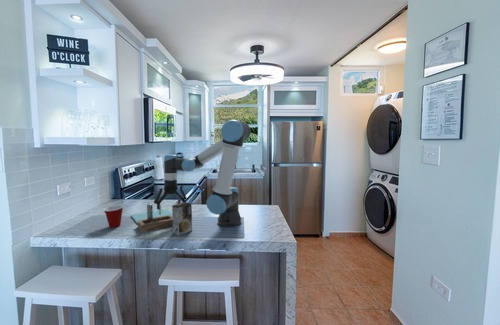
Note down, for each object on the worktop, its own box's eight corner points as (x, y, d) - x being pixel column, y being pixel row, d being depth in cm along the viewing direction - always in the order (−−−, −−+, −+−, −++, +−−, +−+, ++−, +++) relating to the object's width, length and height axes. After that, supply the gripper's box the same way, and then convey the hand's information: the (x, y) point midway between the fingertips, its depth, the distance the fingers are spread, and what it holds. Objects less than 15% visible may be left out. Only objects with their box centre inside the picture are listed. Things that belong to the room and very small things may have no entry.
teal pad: (175, 217, 162) (175, 215, 162) (137, 224, 147) (137, 222, 147) (165, 210, 178) (165, 209, 178) (130, 216, 163) (130, 214, 163)
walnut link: (176, 224, 147) (176, 218, 147) (141, 232, 135) (141, 225, 135) (170, 220, 155) (170, 214, 155) (137, 227, 143) (137, 220, 143)
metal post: (153, 227, 142) (152, 204, 141) (148, 228, 140) (147, 205, 139) (152, 226, 145) (151, 203, 143) (147, 227, 143) (146, 204, 142)
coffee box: (185, 228, 142) (185, 201, 140) (192, 230, 138) (192, 203, 136) (172, 232, 135) (171, 205, 133) (179, 235, 131) (178, 207, 129)
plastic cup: (106, 224, 147) (105, 205, 146) (125, 222, 151) (124, 204, 150) (102, 230, 137) (101, 210, 136) (123, 228, 141) (122, 208, 140)
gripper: (187, 176, 158) (187, 207, 161) (148, 180, 143) (148, 214, 145) (191, 178, 153) (191, 210, 155) (151, 182, 137) (152, 217, 139)
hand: (170, 212), depth 150 cm, fingers open, 13 cm apart
